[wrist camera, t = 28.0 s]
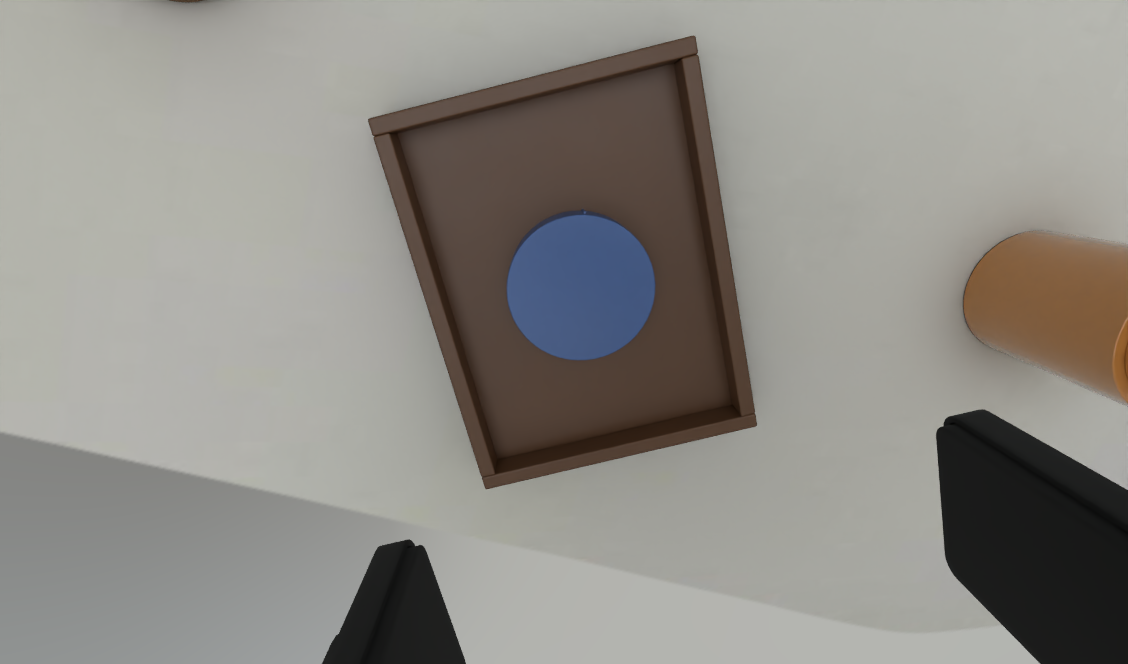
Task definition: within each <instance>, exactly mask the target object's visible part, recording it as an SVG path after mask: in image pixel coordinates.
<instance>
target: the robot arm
mask: <svg viewBox="0 0 1128 664" xmlns="http://www.w3.org/2000/svg"><path fill="white" fill-rule="evenodd" d="M936 440H937V453H938V466H939V480H940V493H941V507H942V520H943V534H944V547H945V557H946V560H947V563H948V566H949V568H950V570H951V571H952V573H953V575H954V576H955V577H956V578H957V579H958V580H959V581H960V582H961V583H962V584H963V585H964V586H965V587H966V588H967V589H968V590H969V591H970V592H971V594H972V595H973V596H974V597H975V598H976V599H977V600H978V601H979V602H980V603H981V604H982V605H983V606H984V607H985V608H986V609H987V610H988V611H989V612H990V613H991V614H992V615H993V616H994V617H995V618H996V619H997V620H998V621H999V622H1000V623H1001V624H1002V625H1003V626H1004V627H1005V628H1006V629H1007V630H1008V631H1009V632H1010V633H1011V634H1012V635H1013V636H1014V637H1015V638H1016V639H1017V640H1018V641H1019V642H1020V643H1021V644H1022V645H1023V646H1024V648H1025V649H1026V650H1027V651H1028V652H1029V653H1030V654H1031V655H1032V656H1033V657H1034V658H1035V659H1036V660H1037V661H1038V662H1039V663H1040V664H1128V490H1127V489H1125V488H1123V487H1121V486H1119V485H1118V484H1116V483H1114V482H1112V481H1111V480H1109V479H1107V478H1105V477H1104V476H1102V475H1100V474H1098V473H1096V472H1095V471H1093V470H1091V469H1089V468H1088V467H1086V466H1084V465H1082V464H1081V463H1079V462H1077V461H1075V460H1073V459H1072V458H1070V457H1068V456H1066V455H1065V454H1063V453H1061V452H1059V451H1058V450H1056V449H1054V448H1052V447H1051V446H1049V445H1047V444H1045V443H1043V442H1042V441H1040V440H1038V439H1036V438H1035V437H1033V436H1031V435H1029V434H1028V433H1026V432H1024V431H1022V430H1020V429H1019V428H1017V427H1015V426H1013V425H1012V424H1010V423H1008V422H1006V421H1005V420H1003V419H1001V418H999V417H997V416H996V415H994V414H992V413H990V412H989V411H986V410H976V411H972V412H967V413H963V414H958V415H954V416H950V417H948V418H946V419H945V422H944V427H940V428H939V429H938V430H937V433H936ZM322 664H466V663H465V659H464V656H463V653H462V650H461V647H460V645H459V642H458V639H457V637H456V633H455V631H454V628H453V625H452V623H451V619H450V617H449V614H448V611H447V609H446V605H445V603H444V600H443V597H442V594H441V592H440V589H439V586H438V583H437V580H436V577H435V575H434V572H433V569H432V566H431V563H430V561H429V558H428V555H427V552H426V550H425V548H424V547H423V546H422V545H419V546H415V545H414V543H413V542H412V541H411V540H404V541H400V542H395V543H391V544H387V545H382V546H379V547H378V548H377V550H376V551H375V554H374V556H373V558H372V560H371V563H370V565H369V567H368V569H367V572H366V574H365V576H364V578H363V581H362V583H361V585H360V587H359V590H358V592H357V594H356V596H355V599H354V601H353V603H352V605H351V608H350V610H349V612H348V614H347V617H346V619H345V621H344V624H343V626H342V628H341V630H340V632H339V634H338V635H336V637H335V638H334V640H333V641H332V643H331V645H330V647H329V650H328V652H327V654H326V656H325V658H324V661H323V663H322Z"/></svg>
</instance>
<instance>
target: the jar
mask: <svg viewBox="0 0 1128 664" xmlns="http://www.w3.org/2000/svg"><path fill="white" fill-rule="evenodd" d="M964 315H965V319H966V322H967V324H968V326H969V328H970V330H971V331H972V333H973V334H974V335H975V336H976V338H977V339H978V340H980V341H981V342H982V343H984V344H985V345H987V346H989V347H991V348H994V349H996V350H998V351H1001V352H1003V353H1005V354H1007V355H1010V356H1012V357H1014V358H1017V359H1019V360H1021V361H1023V362H1026V363H1028V364H1030V365H1033V366H1035V367H1037V368H1040V369H1042V370H1044V371H1046V372H1049V373H1051V374H1053V375H1056V376H1058V377H1060V378H1063V379H1065V380H1067V381H1069V382H1072V383H1074V384H1076V385H1079V386H1081V387H1083V388H1086V389H1088V390H1090V391H1092V392H1095V393H1097V394H1099V395H1102V396H1104V397H1106V398H1109V399H1111V400H1113V401H1115V402H1118V403H1120V404H1122V405H1125V406H1127V407H1128V244H1127V243H1120V242H1114V241H1108V240H1101V239H1095V238H1089V237H1082V236H1076V235H1069V234H1063V233H1057V232H1050V231H1029V232H1024V233H1021V234H1017V235H1015V236H1012V237H1010V238H1008V239H1006V240H1004V241H1002V242H1001V243H999V244H998V245H996V246H995V247H994V248H992V249H991V250H990V251H989V252H988V253H987V254H986V255H985V256H984V257H983V258H982V259H981V260H980V262H979V263H978V264H977V266H976V267H975V269H974V270H973V272H972V274H971V276H970V278H969V281H968V283H967V286H966V290H965V294H964Z"/></svg>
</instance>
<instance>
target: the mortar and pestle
mask: <svg viewBox="0 0 1128 664" xmlns="http://www.w3.org/2000/svg"><path fill="white" fill-rule="evenodd" d="M170 1H177V2H197V1H202V0H170Z"/></svg>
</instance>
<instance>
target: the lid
mask: <svg viewBox="0 0 1128 664" xmlns="http://www.w3.org/2000/svg"><path fill="white" fill-rule="evenodd" d="M506 288H507V300H508V306H509V309H510V312H511V315H512V317H513V319H514V321H515V323H516V325H517V327H518V328H519V330H520V331H521V332H522V333H523V335H524V336H525V337H526V338H527V339H528V340H529V341H530V342H531V343H532V344H534V345H535V346H536V347H538V348H539V349H541V350H542V351H544V352H546V353H548V354H550V355H553V356H556V357H559V358H563V359H568V360H591V359H597V358H600V357H604V356H606V355H609V354H611V353H614V352H615V351H617V350H619V349H621V348H622V347H624V346H625V345H626V344H627V343H629V342H630V341H631V340H632V339H633V338H634V337H635V336H636V335H637V334H638V333H639V331H640V330H641V329H642V327H643V326H644V324H645V322H646V321H647V319H648V317H649V314H650V312H651V309H652V306H653V302H654V296H655V276H654V271H653V267H652V263H651V261H650V258H649V256H648V254H647V252H646V250H645V249H644V247H643V246H642V244H641V243H640V242H639V240H638V239H637V238H636V237H635V236H634V235H633V234H632V233H631V232H630V231H629V230H627V229H626V228H625V227H624V226H623V225H621V224H620V223H619V222H617V221H615V220H614V219H612V218H610V217H608V216H605V215H603V214H600V213H596V212H591V211H585V210H584V209H582V211H568V212H563V213H559V214H556V215H553V216H551V217H549V218H547V219H545V220H543V221H542V222H540V223H538V224H537V225H536V226H535V227H533V228H532V229H531V230H530V231H529V232H528V233H527V234H526V235H525V236H524V238H523V239H522V240H521V242H520V243H519V245H518V247H517V249H516V251H515V253H514V255H513V258H512V261H511V264H510V268H509V272H508V277H507V287H506Z"/></svg>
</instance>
